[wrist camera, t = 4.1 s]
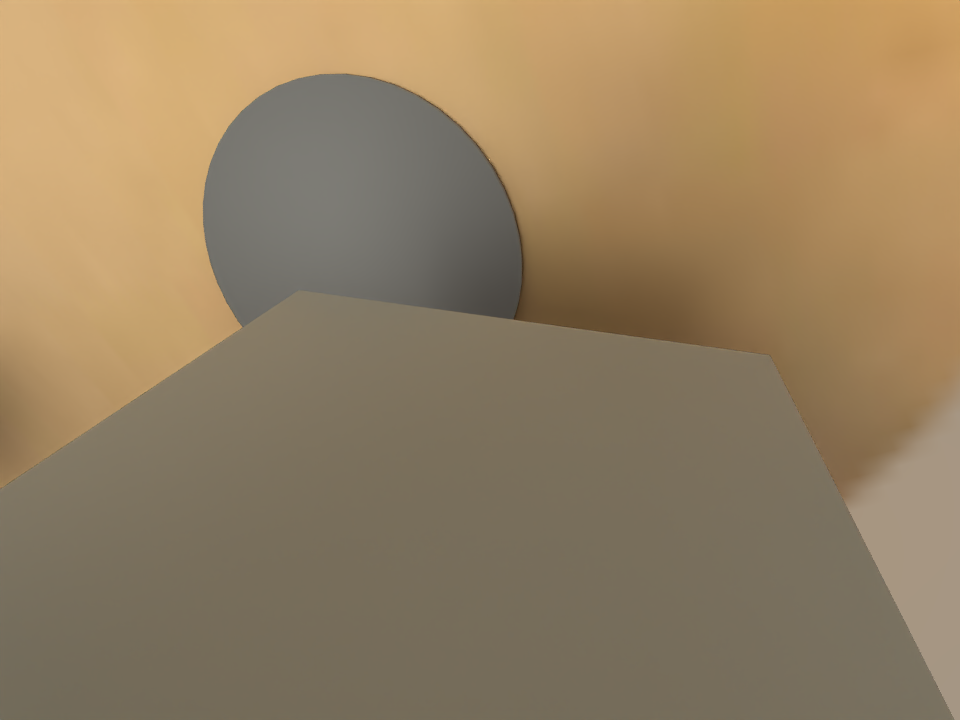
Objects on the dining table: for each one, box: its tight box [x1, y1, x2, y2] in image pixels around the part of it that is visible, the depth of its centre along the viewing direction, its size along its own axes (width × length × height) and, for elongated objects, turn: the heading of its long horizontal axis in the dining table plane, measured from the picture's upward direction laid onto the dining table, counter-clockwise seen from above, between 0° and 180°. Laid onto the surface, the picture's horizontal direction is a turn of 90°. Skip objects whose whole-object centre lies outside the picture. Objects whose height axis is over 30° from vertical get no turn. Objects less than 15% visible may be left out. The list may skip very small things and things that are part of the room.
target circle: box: [203, 74, 522, 327], centre depth 17 cm, size 10×10×1 cm
